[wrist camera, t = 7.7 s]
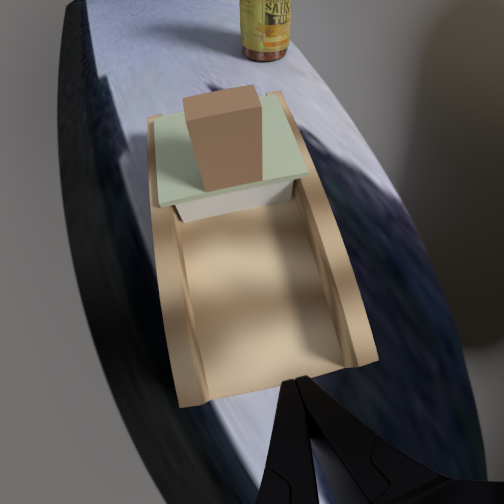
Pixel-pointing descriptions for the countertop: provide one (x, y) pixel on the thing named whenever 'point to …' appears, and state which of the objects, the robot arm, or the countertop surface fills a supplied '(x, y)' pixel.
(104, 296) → the countertop surface
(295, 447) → the robot arm
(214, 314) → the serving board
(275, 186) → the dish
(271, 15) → the sauce bottle
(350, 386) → the countertop surface
